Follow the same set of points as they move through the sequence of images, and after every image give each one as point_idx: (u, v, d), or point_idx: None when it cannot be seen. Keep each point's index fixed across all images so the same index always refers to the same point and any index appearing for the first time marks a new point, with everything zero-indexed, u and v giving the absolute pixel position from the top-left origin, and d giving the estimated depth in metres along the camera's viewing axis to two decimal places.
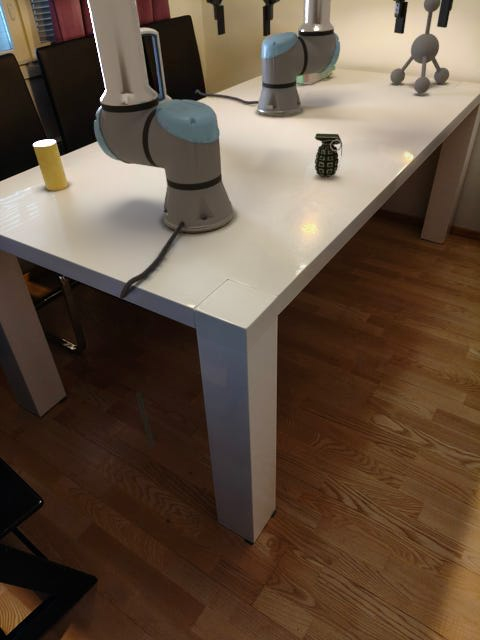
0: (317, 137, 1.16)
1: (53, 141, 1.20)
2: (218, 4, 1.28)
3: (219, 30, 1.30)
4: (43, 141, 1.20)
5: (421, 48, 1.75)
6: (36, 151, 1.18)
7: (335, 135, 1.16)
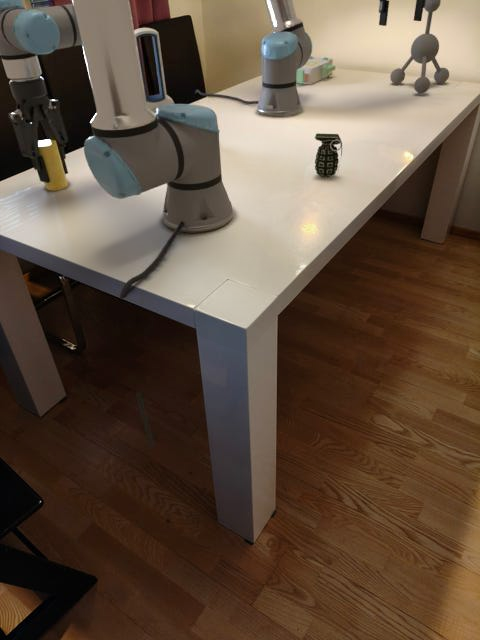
0: (317, 137, 1.16)
1: (53, 141, 1.20)
2: None
3: (48, 178, 1.21)
4: (43, 141, 1.20)
5: (421, 48, 1.75)
6: None
7: (335, 135, 1.16)
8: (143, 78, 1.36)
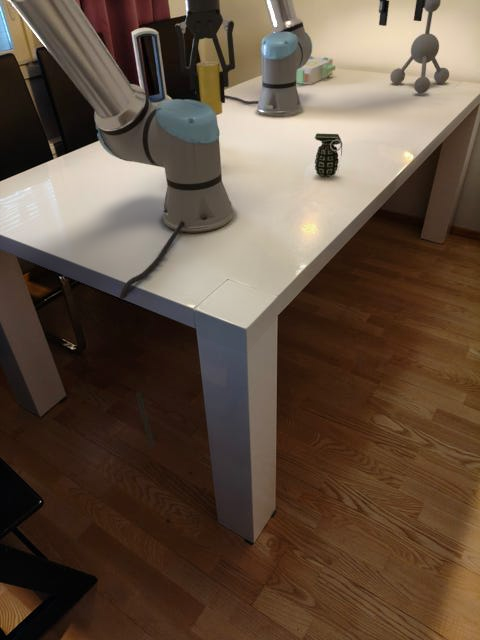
0: (317, 137, 1.16)
1: (214, 64, 1.14)
2: (194, 73, 1.16)
3: (198, 100, 1.19)
4: (210, 62, 1.16)
5: (421, 48, 1.75)
6: None
7: (335, 135, 1.16)
8: (143, 78, 1.36)
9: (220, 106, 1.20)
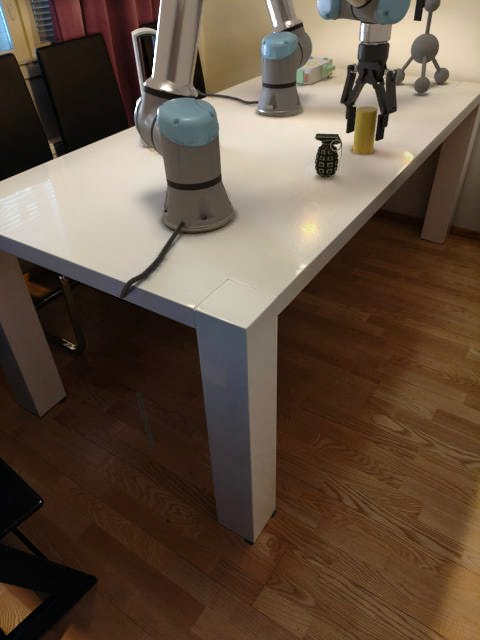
0: (317, 137, 1.16)
1: (369, 111, 1.27)
2: (351, 106, 1.32)
3: (347, 129, 1.34)
4: (372, 108, 1.29)
5: (421, 48, 1.75)
6: None
7: (335, 135, 1.16)
8: (143, 78, 1.36)
9: (366, 148, 1.32)
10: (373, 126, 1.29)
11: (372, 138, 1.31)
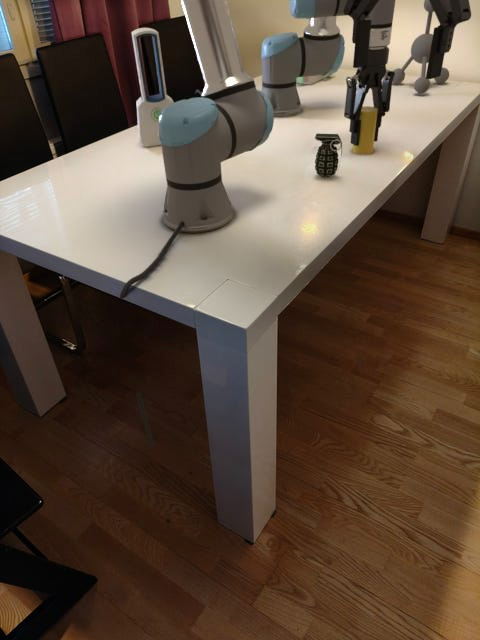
0: (317, 137, 1.16)
1: (369, 111, 1.27)
2: (362, 18, 0.77)
3: (356, 60, 0.79)
4: (372, 108, 1.29)
5: (421, 48, 1.75)
6: None
7: (335, 135, 1.16)
8: (143, 78, 1.36)
9: (366, 148, 1.32)
10: (373, 126, 1.29)
11: (372, 138, 1.31)
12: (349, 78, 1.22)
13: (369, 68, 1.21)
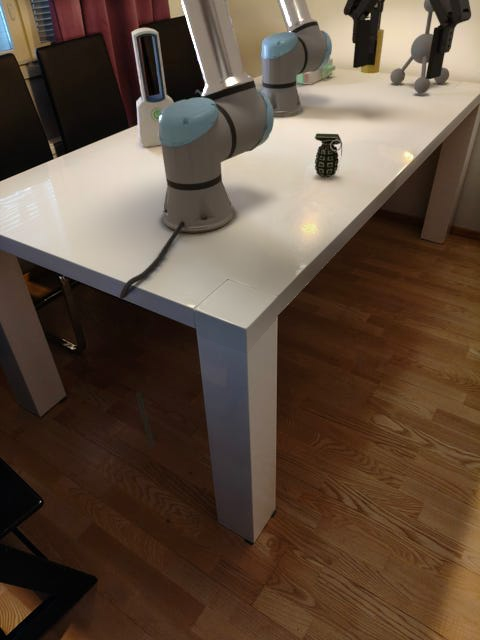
0: (317, 137, 1.16)
1: (381, 30, 1.44)
2: (362, 18, 0.77)
3: (356, 60, 0.79)
4: None
5: (421, 48, 1.75)
6: None
7: (335, 135, 1.16)
8: (143, 78, 1.36)
9: (378, 66, 1.49)
10: None
11: None
12: None
13: None
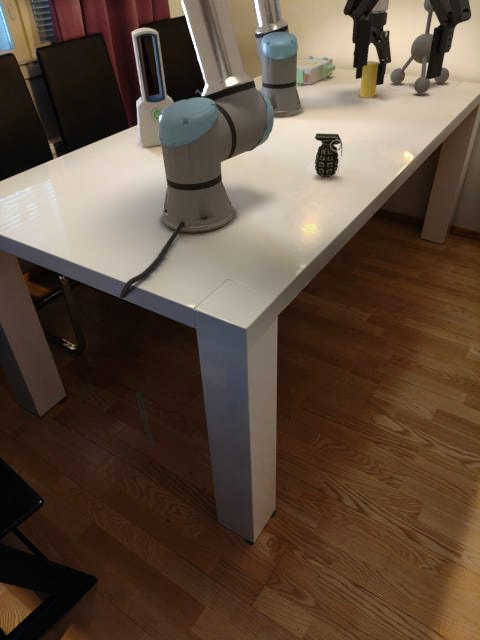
0: (317, 137, 1.16)
1: (376, 62, 1.74)
2: (362, 18, 0.77)
3: (356, 60, 0.79)
4: (369, 62, 1.76)
5: (421, 48, 1.75)
6: (364, 67, 1.74)
7: (335, 135, 1.16)
8: (143, 78, 1.36)
9: None
10: None
11: None
12: (385, 31, 1.63)
13: None
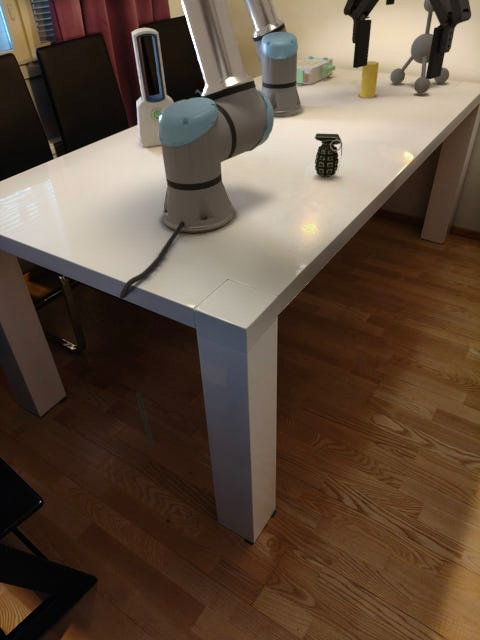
0: (317, 137, 1.16)
1: (376, 62, 1.74)
2: (362, 18, 0.77)
3: (356, 60, 0.79)
4: (369, 62, 1.76)
5: (421, 48, 1.75)
6: (364, 67, 1.74)
7: (335, 135, 1.16)
8: (143, 78, 1.36)
9: None
10: None
11: None
12: None
13: None
